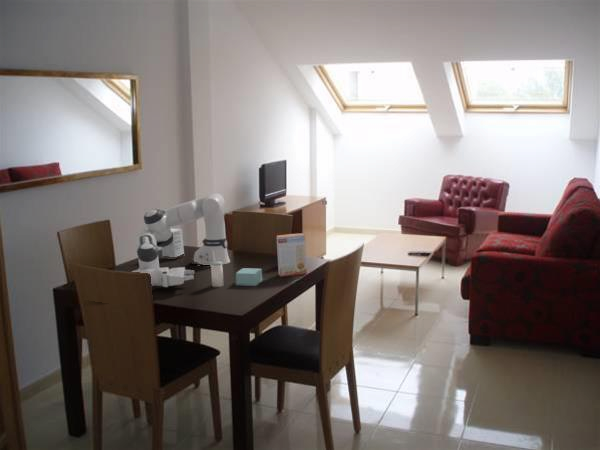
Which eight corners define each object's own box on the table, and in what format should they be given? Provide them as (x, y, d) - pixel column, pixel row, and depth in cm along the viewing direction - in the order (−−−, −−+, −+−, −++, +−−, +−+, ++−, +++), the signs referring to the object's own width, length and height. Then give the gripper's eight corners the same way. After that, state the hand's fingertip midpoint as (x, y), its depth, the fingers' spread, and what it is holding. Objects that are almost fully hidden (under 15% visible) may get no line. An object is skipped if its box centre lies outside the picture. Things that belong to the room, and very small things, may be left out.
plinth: (235, 285, 326) (234, 273, 325) (243, 279, 337) (242, 267, 335) (256, 285, 324) (255, 273, 323) (263, 280, 334) (262, 268, 333)
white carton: (184, 256, 394) (182, 228, 391) (175, 260, 385) (173, 231, 382) (171, 255, 398) (169, 228, 395) (162, 259, 389) (159, 231, 386)
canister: (210, 286, 325) (208, 263, 323) (214, 283, 331) (213, 260, 329) (221, 287, 324) (219, 264, 322) (225, 284, 329) (224, 261, 327)
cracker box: (304, 271, 347) (302, 232, 343) (307, 274, 341) (305, 234, 337) (278, 274, 344) (276, 234, 340) (280, 277, 338) (278, 236, 334)
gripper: (167, 277, 334) (195, 275, 335) (164, 288, 314) (193, 286, 315) (166, 265, 333) (194, 263, 334) (163, 275, 313) (192, 273, 314)
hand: (193, 274), depth 325 cm, fingers open, 8 cm apart
